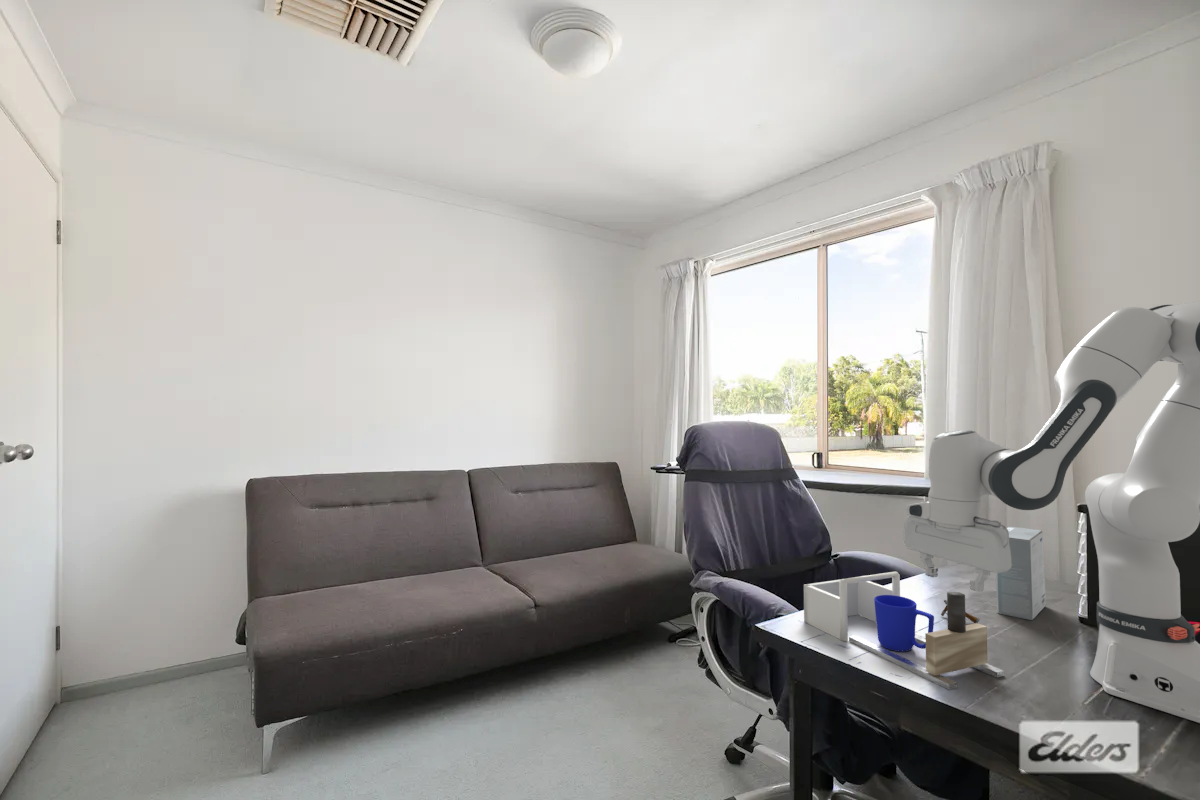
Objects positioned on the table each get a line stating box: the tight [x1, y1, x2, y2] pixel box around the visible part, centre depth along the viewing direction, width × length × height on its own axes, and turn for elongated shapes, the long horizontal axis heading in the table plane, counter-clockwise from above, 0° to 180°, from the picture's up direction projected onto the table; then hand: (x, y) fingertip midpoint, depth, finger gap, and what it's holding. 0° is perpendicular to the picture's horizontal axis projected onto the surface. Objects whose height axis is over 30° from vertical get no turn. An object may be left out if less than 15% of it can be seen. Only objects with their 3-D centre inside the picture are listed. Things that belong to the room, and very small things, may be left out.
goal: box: [803, 571, 901, 642], centre depth 136 cm, size 13×18×14 cm
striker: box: [924, 591, 989, 676], centre depth 111 cm, size 3×14×14 cm, turn 111°
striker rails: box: [848, 633, 1005, 691], centre depth 118 cm, size 24×15×1 cm, turn 21°
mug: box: [874, 595, 935, 652], centre depth 122 cm, size 8×12×10 cm
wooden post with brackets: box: [940, 599, 981, 624], centre depth 139 cm, size 2×8×4 cm, turn 45°
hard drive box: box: [995, 526, 1047, 621], centre depth 147 cm, size 16×8×20 cm, turn 132°
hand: (953, 583), depth 111 cm, fingers open, 8 cm apart
